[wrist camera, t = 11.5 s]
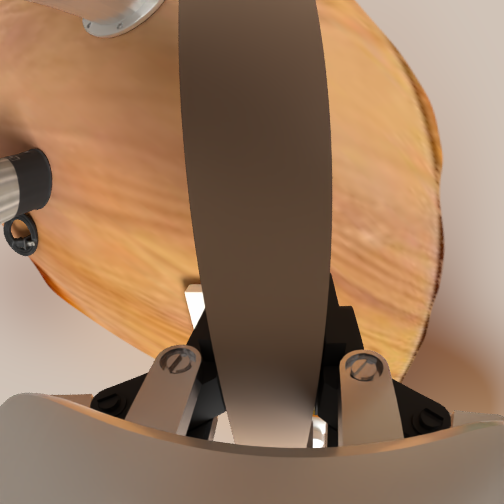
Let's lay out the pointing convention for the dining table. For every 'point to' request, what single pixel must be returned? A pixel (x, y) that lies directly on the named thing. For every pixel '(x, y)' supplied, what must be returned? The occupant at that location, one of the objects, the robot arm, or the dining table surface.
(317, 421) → the supplement bottle
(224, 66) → the bar
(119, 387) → the robot arm
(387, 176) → the dining table surface
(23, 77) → the dining table surface
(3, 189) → the milk frother
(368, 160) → the dining table surface
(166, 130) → the dining table surface
